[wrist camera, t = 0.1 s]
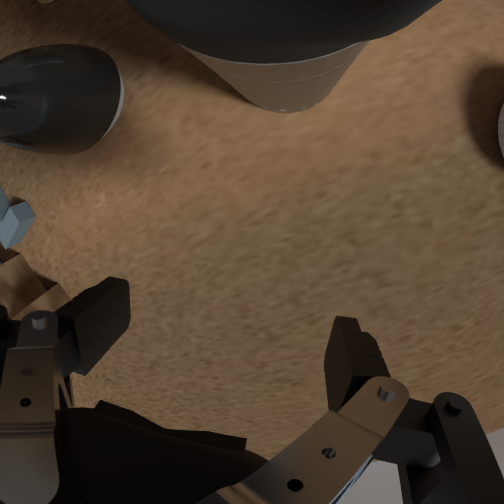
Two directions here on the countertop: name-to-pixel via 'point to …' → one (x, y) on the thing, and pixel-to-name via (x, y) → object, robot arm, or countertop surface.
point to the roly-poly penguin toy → (58, 98)
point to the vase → (44, 1)
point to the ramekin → (501, 129)
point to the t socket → (13, 221)
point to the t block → (26, 290)
